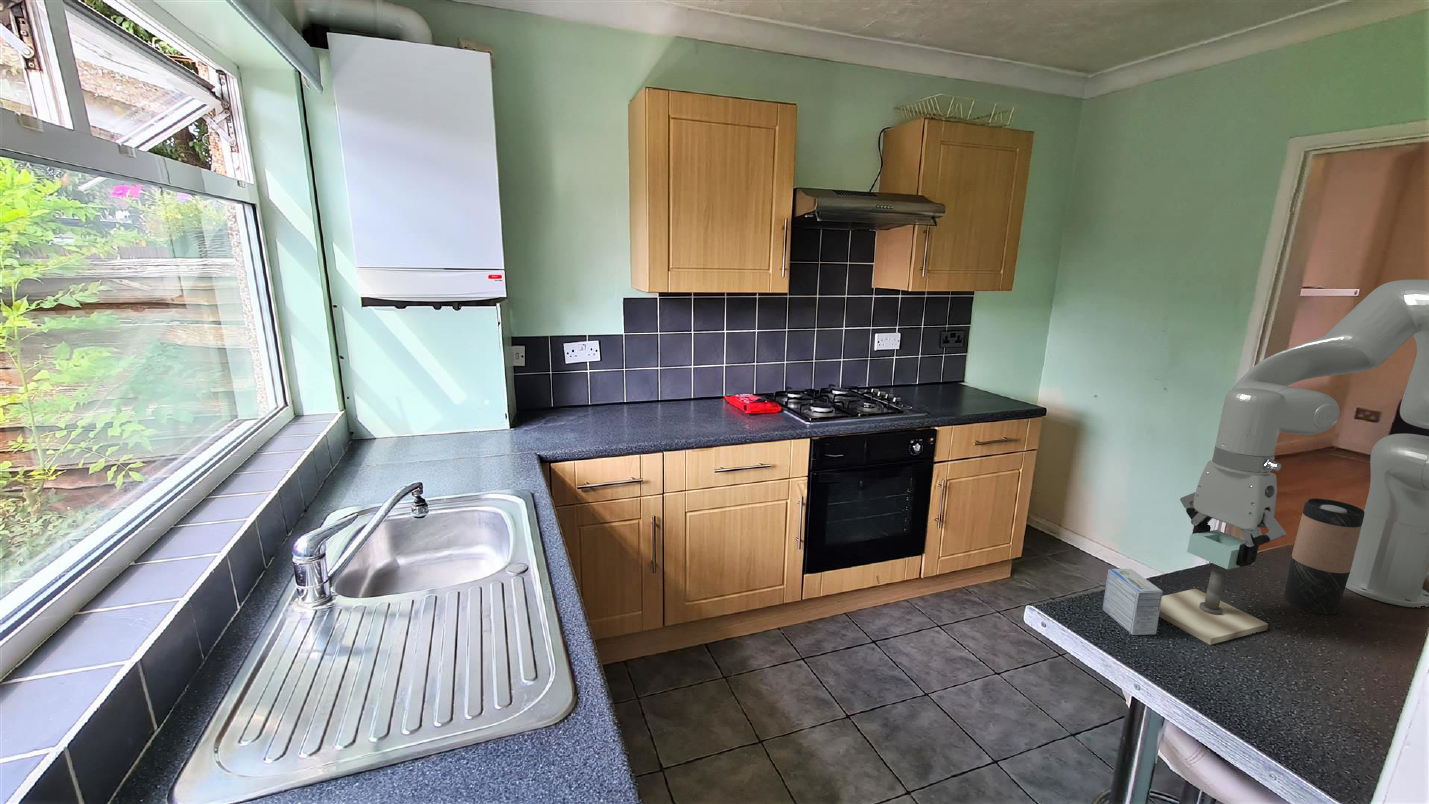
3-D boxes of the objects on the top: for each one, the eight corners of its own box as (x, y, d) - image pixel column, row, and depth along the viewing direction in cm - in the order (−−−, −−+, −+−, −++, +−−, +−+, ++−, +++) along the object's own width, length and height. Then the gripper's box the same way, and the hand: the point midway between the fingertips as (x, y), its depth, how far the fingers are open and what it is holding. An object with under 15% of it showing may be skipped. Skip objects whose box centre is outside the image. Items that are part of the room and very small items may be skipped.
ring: (1212, 547, 107) (1216, 529, 106) (1253, 564, 100) (1258, 545, 100) (1186, 551, 105) (1190, 534, 104) (1227, 569, 99) (1231, 550, 98)
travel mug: (1351, 618, 104) (1379, 516, 100) (1301, 613, 106) (1326, 513, 101) (1317, 595, 111) (1341, 499, 107) (1271, 591, 113) (1293, 496, 108)
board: (1194, 593, 112) (1202, 551, 110) (1266, 629, 101) (1277, 582, 99) (1140, 606, 108) (1148, 562, 106) (1209, 644, 97) (1220, 596, 95)
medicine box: (1156, 635, 100) (1164, 591, 98) (1131, 636, 100) (1138, 591, 98) (1124, 609, 108) (1131, 567, 106) (1101, 609, 108) (1107, 568, 106)
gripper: (1320, 475, 91) (1294, 576, 95) (1202, 444, 108) (1184, 531, 112) (1288, 479, 89) (1263, 582, 93) (1173, 447, 106) (1156, 536, 110)
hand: (1220, 554), depth 102 cm, fingers closed on ring, 6 cm apart
